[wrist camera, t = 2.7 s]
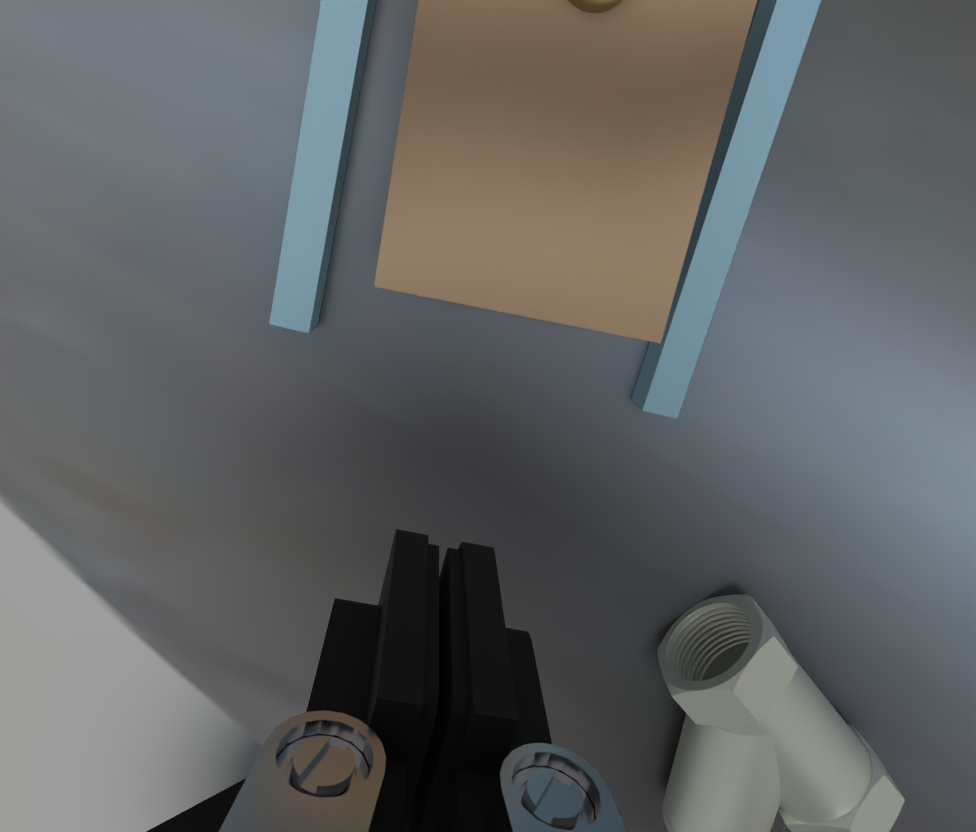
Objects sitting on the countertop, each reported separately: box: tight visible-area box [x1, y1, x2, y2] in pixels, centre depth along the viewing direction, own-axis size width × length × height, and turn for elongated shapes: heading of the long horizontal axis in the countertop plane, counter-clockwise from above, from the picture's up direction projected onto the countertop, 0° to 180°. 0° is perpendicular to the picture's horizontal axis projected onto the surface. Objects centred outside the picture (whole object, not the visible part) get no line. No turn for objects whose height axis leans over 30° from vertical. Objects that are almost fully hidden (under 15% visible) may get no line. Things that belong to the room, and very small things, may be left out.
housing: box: [374, 0, 757, 343], centre depth 15 cm, size 8×6×6 cm
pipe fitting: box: [657, 595, 905, 832], centre depth 22 cm, size 8×4×7 cm
